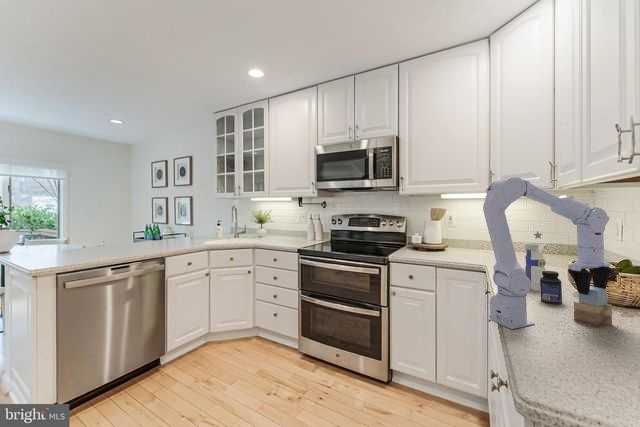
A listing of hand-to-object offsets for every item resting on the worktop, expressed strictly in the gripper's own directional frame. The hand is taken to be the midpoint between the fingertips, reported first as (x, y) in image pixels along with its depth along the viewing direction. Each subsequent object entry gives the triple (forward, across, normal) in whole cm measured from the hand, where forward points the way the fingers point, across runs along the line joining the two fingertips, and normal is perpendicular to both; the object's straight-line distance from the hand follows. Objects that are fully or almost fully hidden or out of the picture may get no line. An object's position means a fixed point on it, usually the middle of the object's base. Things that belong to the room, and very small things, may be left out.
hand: (591, 292), depth 84 cm
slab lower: (+9, 0, 0) cm, 9 cm away
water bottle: (+9, +22, +31) cm, 39 cm away
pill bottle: (+9, +9, +17) cm, 21 cm away
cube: (+3, 0, 0) cm, 3 cm away
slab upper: (+6, 0, 0) cm, 6 cm away
